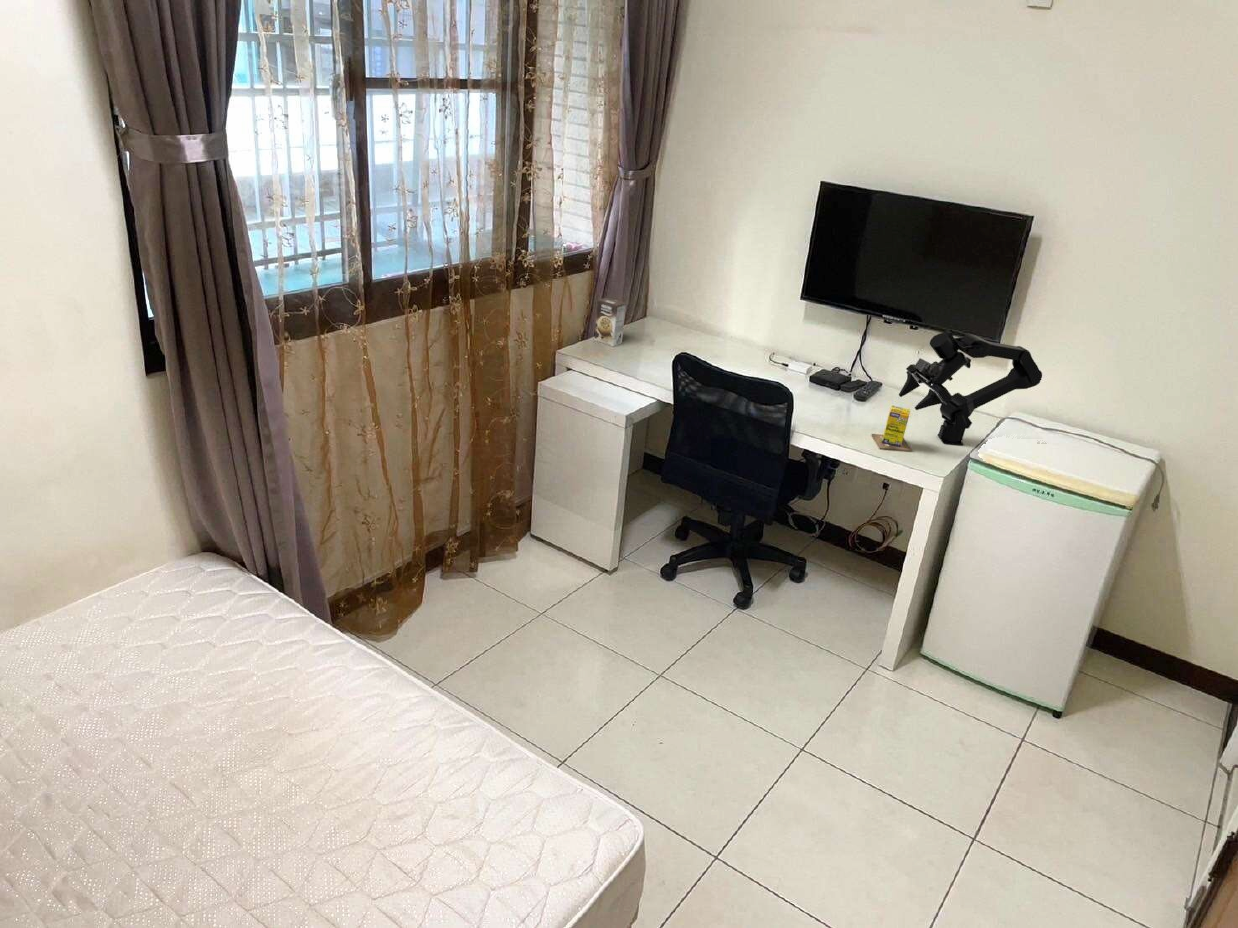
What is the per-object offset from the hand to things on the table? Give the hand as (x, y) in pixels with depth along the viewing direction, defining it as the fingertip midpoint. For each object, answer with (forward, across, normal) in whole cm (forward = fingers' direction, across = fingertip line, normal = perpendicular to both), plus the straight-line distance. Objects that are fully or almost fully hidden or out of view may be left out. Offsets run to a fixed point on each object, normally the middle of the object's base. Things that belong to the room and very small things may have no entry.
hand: (907, 402), depth 274 cm
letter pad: (+12, +1, +7) cm, 14 cm away
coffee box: (+60, -92, -40) cm, 117 cm away
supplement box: (+11, +1, +7) cm, 13 cm away
